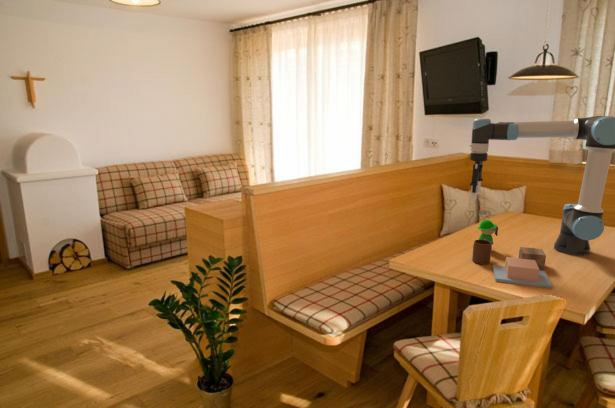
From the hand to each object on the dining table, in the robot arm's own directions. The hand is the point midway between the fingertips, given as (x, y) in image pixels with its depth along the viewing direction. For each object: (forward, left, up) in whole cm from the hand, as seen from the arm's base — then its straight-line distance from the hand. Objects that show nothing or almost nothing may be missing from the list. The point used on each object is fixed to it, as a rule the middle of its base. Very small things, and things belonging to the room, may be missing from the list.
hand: (475, 196), depth 205 cm
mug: (-5, +15, -27) cm, 31 cm away
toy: (-7, -2, -27) cm, 27 cm away
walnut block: (-25, +15, -27) cm, 39 cm away
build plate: (-19, +31, -26) cm, 45 cm away
